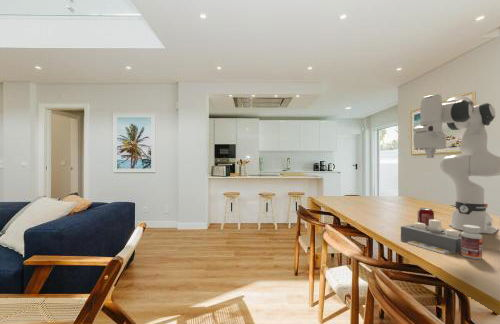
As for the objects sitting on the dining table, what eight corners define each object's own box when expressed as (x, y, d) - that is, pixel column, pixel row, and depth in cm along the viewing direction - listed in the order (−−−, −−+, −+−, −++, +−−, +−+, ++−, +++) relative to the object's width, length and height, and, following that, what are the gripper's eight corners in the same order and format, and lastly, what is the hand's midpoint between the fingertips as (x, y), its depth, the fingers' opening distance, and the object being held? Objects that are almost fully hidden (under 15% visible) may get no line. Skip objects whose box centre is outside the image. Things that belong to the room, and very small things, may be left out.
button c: (448, 242, 111) (448, 228, 111) (460, 246, 107) (461, 231, 107) (442, 244, 109) (442, 229, 109) (454, 247, 105) (455, 232, 105)
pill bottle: (483, 260, 94) (484, 229, 94) (462, 257, 98) (462, 226, 98) (480, 255, 100) (480, 225, 100) (459, 252, 103) (460, 223, 103)
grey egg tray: (418, 234, 127) (418, 223, 127) (473, 249, 107) (473, 235, 107) (400, 238, 121) (400, 226, 121) (455, 253, 101) (455, 239, 101)
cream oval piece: (417, 234, 123) (417, 222, 123) (427, 237, 119) (427, 224, 119) (411, 236, 121) (411, 223, 121) (421, 238, 117) (421, 225, 117)
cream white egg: (432, 232, 117) (432, 219, 117) (443, 235, 113) (443, 221, 113) (426, 233, 115) (426, 219, 115) (437, 236, 111) (437, 222, 111)
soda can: (436, 235, 127) (436, 210, 127) (420, 234, 128) (421, 209, 128) (429, 231, 133) (430, 207, 133) (415, 230, 135) (415, 207, 135)
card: (413, 242, 115) (413, 240, 115) (449, 252, 103) (449, 250, 103) (407, 243, 114) (407, 241, 114) (443, 253, 101) (443, 251, 101)
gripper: (436, 130, 132) (436, 158, 132) (410, 128, 123) (410, 157, 123) (450, 129, 127) (450, 158, 127) (424, 127, 118) (424, 157, 118)
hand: (430, 158), depth 125 cm, fingers closed
